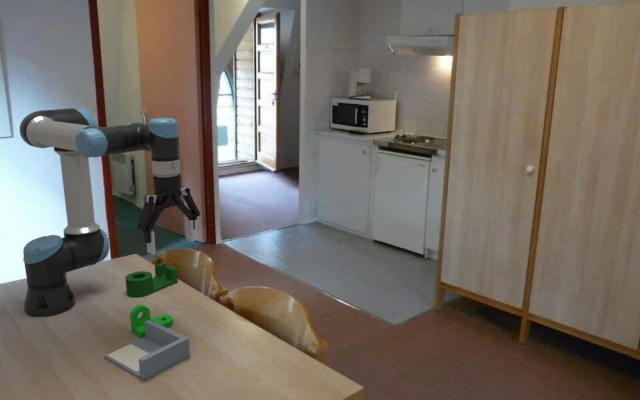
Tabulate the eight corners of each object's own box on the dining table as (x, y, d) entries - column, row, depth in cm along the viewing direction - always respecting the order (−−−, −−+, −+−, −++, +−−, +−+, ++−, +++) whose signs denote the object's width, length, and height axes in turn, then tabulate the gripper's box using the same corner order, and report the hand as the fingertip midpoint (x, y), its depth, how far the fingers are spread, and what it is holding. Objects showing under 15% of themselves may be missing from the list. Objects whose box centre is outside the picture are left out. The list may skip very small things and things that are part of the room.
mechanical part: (141, 338, 162) (139, 314, 160) (131, 332, 166) (129, 307, 164) (176, 325, 170) (175, 301, 168) (166, 319, 174) (164, 296, 172)
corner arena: (104, 358, 150) (102, 339, 149) (150, 337, 162) (148, 319, 160) (144, 381, 140) (142, 360, 138) (190, 356, 151) (188, 338, 150)
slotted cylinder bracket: (138, 300, 188) (136, 283, 186) (121, 294, 192) (119, 277, 191) (177, 283, 202) (176, 266, 201) (161, 278, 207) (159, 262, 205)
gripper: (136, 183, 139) (142, 261, 145) (210, 169, 159) (213, 238, 164) (119, 180, 144) (125, 255, 149) (193, 166, 163) (196, 233, 168)
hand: (171, 246), depth 156 cm, fingers open, 13 cm apart
